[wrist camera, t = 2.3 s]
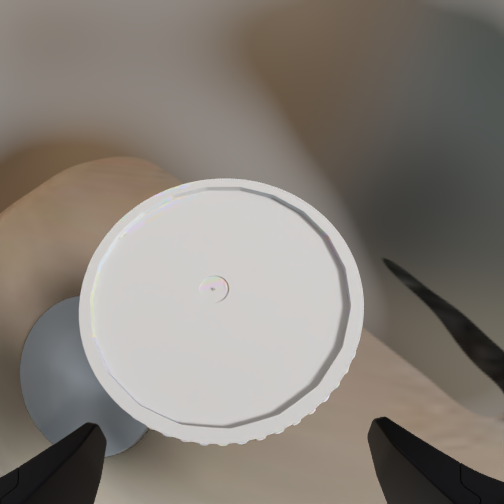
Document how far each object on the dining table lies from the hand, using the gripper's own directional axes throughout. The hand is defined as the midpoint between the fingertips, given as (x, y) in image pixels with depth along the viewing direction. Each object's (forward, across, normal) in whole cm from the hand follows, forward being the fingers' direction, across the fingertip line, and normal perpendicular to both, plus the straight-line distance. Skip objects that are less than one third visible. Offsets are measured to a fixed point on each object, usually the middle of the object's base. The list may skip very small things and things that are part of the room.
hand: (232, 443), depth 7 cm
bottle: (+10, 0, +5) cm, 12 cm away
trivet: (+10, +12, +6) cm, 16 cm away
